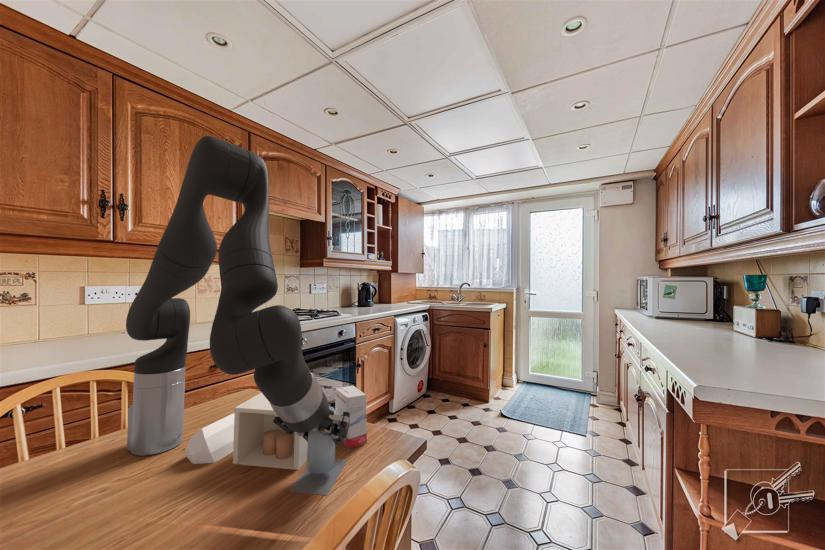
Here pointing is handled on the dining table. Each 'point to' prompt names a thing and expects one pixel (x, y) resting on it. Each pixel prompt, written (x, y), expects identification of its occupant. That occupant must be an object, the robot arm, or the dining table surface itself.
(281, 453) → the rounded tan cylinder
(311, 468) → the jar
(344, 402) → the ink box
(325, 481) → the mat
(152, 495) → the dining table surface
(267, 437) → the brown tapered cup
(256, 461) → the cubby
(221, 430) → the white beveled prism
